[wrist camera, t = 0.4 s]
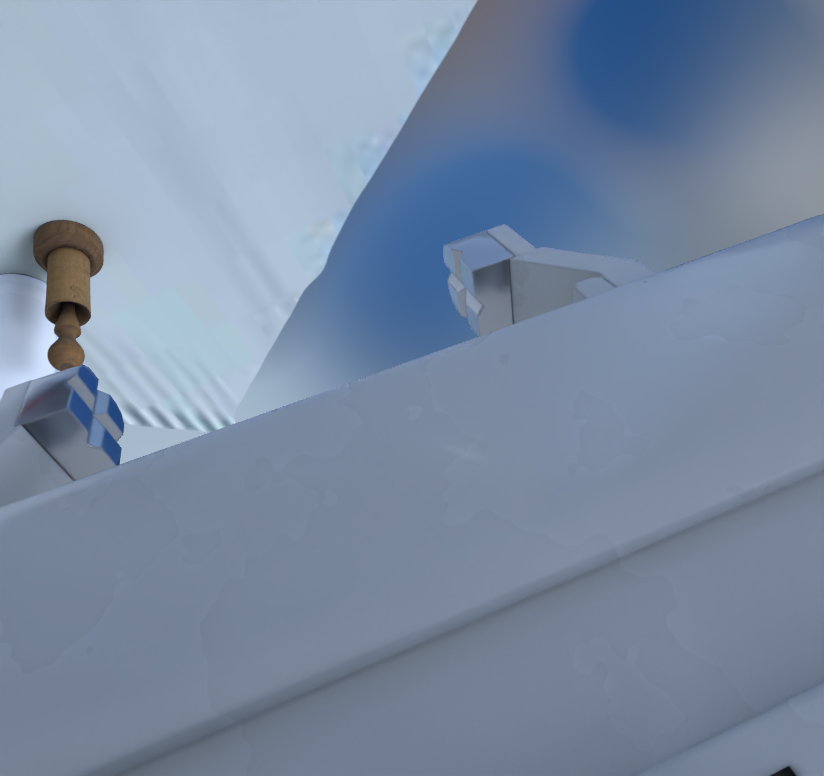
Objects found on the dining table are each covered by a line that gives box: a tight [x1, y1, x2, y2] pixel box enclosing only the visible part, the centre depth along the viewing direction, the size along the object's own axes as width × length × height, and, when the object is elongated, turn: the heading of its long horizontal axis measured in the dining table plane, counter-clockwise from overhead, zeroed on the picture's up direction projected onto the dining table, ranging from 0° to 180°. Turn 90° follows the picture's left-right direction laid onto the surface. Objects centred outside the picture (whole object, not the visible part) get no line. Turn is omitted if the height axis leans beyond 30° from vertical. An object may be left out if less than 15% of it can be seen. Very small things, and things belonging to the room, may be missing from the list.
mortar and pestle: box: [33, 220, 104, 371], centre depth 56 cm, size 7×6×18 cm
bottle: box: [0, 274, 58, 401], centre depth 56 cm, size 8×8×30 cm
